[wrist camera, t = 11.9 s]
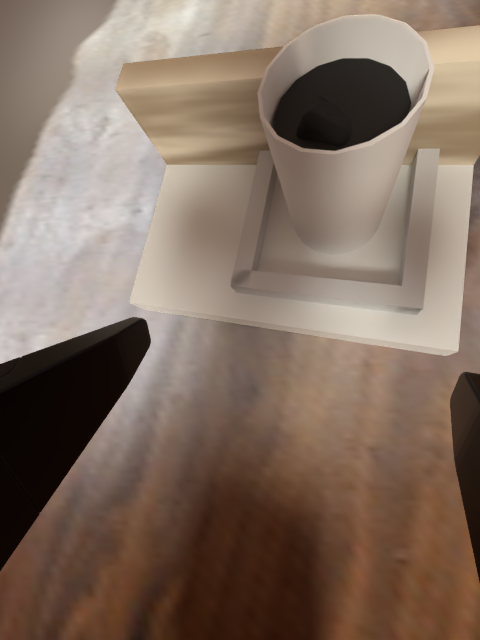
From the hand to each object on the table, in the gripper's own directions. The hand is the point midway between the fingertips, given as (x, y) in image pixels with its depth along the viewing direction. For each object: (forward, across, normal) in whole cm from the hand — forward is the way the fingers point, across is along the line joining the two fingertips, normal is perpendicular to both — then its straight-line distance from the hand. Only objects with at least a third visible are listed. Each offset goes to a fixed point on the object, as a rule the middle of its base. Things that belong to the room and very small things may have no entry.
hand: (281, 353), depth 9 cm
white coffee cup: (+16, 0, 0) cm, 16 cm away
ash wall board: (+21, +3, -2) cm, 21 cm away
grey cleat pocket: (+16, +3, +3) cm, 17 cm away
